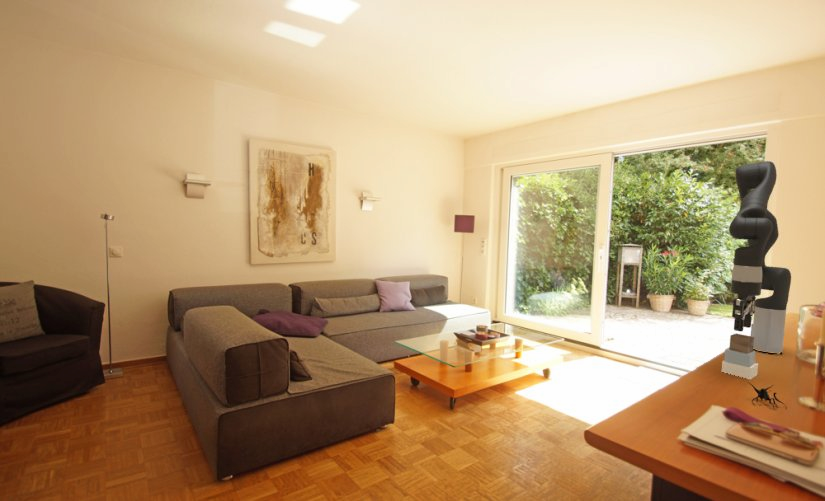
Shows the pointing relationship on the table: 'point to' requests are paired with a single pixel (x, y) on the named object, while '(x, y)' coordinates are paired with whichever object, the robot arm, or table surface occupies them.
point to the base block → (740, 370)
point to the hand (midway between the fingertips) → (742, 328)
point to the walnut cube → (741, 343)
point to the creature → (765, 396)
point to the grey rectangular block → (739, 358)
